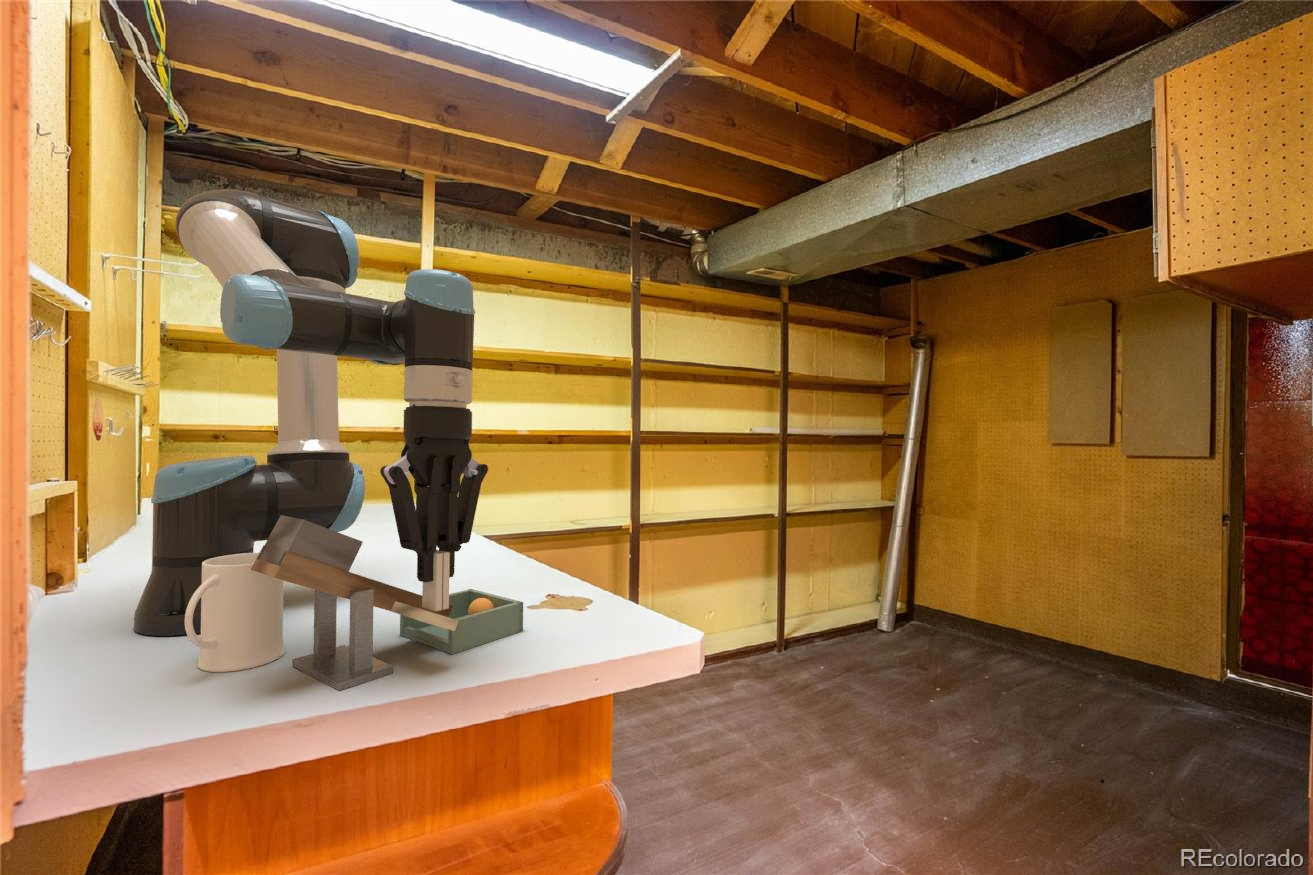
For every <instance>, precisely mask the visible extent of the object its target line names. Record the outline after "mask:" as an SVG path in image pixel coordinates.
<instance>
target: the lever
mask: <svg viewBox="0 0 1313 875" xmlns="http://www.w3.org/2000/svg"><path fill="white" fill-rule="evenodd" d="M363 542H364V541H362V540H360V539H358V538H354V537H352V536H349V535H346V534H344V533H341V532H336V531H333V530H330V529H328V528H325V527H322V526H320V525H317V524H314V523H312V522H309V521H306V520H303V519H298V518H293V517H288V516H283V515H281V516H280V518H279V519H278V521H277V523H276V525H275V527H274V529H273V531H272V532H271V534H270V536H269V538H268V540H266V542H265V544H264V545H263V546H262V548H261V549H260V551H259V552H258V553H259V555H258V557H257V558H256V560H255V562H254V564H253V566H252V568H251V569H250V570H253V571H256V572H259V573H262V574H265V575H268V576H270V577H273V578H277V579H280V580H283V581H284V582H287V583H291V584H294V585H297V586H302V587H305V588H308V589H312V590H314V591H315V590H318V591H322V592H325V593H329V594H332V595H336V596H337V597H340V598H343V599H348V600H350V591H352V590H357V589H362V588H367V587H369V588H372V589H374V602H373V608H374V607H375V608H378V609H381V610H385V611H389V612H392V613H394V614H398V615H400V614H401V615H404V616H407V617H410V618H413V619H416V620H419V621H422V622H425V623H428V624H432V625H435V626H439V627H442V628H446V629H449V630H453V631H455V629H456V626H457V624H458V620H455V619H452V618H449V615H450V613H451V610H452V608H453V605H450V604H449V608H447V609H444V610H443V609H442V610H440V611H433V610H429V609H426V608H423V607H422V595H421V594H418V593H415V592H412V591H409V590H406V589H403V588H400V587H397V586H394V585H391V584H387V583H385V582H383V581H382V582H381V581H378V580H375V579H373V578H369V577H366V576H363V575H360V574H358V573H357V574H356V573H354V572H352V571H350V570H351V567H352V565H353V564H354V561H355V559H356V558H357V555H358V553H359V551H360V549H361V547H362V545H363Z"/></svg>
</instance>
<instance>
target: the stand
mask: <svg viewBox="0 0 1313 875" xmlns="http://www.w3.org/2000/svg"><path fill="white" fill-rule="evenodd" d="M337 598H338V596H336V595H332V594H329V593H325V592H322V591H318V590H315V589H314V598H313V599H314V600H313V602H314V603H313V605H314V606H313V653H310V654H307V655H303V656H300V657H295V658H292V659H291V660H292V663H291V664H292V665H291V666H292V667H293V668H295V669H297V670H299V671H301V672H303V673H304V674H306V675H308V676H310V677H312V678H314V679H316V680H317V681H319V682H321V683H324V684H325V685H328V686H329V687H330V688H333V689H335V690H337V691H338V692H340V691H343V690H346V689H349V688H352V687H355V686H359V685H361V684H365V683H367V682H370V681H372V680H373V681H374V680H376V679H379V678H382V677H384V676H385V677H386V676H388V675H391V674H394V665H392V664H390V663H388V662H385V661H383V660H380V659H378V658H377V657H374V656H373V653H374V649H373V648H374V646H373V645H374V606H373V602H374V589H372V588H369V587H367V588H362V589H357V590H352V591H350V599H349V636H348V637H349V639H348V642H349V643H348V645H349V646H348V645H346V644H343V645H340V646H337V610H338V609H337V603H338V602H337V600H338V599H337Z"/></svg>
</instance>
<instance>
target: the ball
mask: <svg viewBox="0 0 1313 875" xmlns="http://www.w3.org/2000/svg"><path fill="white" fill-rule="evenodd" d="M493 608H494V605H493V604H492V602H491V601H490V600H488V599H486V598H478V599H476V600H474V601H473V602H472V603H471V604H470V606H469V608H468V615H471V614H475V613H479V612H482V611H486V610H489V609H493Z"/></svg>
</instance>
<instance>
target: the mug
mask: <svg viewBox="0 0 1313 875" xmlns="http://www.w3.org/2000/svg"><path fill="white" fill-rule="evenodd" d="M259 553H260V552H253V553H242V554H233V555H226V556H220V557H215V558H211V559H208V560H205V561H203V562H202V584H201V585H200V586H199V588H198V589H197V590H196V591H195V593H194V594H193V596H192V597H191V599H190V601H189V603H188V606H187V609H186V613H185V630H186V633H187V634H186V635H187V638H188V639H189V641H190V642H191V643H192V644H193V645H195V646H196V647H198V648H200V649H199V655H198V656H199V657H198V661H197V668H198V669H199V670H201V671H203V672H204V671H205V672H209V673H228V672H229V673H230V672H237V671H243V670H244V671H245V670H248V669H252V668H253V669H254V668H257V667H261V666H263V665H267V664H269V663H272V662H274V661H276V660H277V659H279V658H281V657H282V656H284V655H285V650H286V649H285V645H284V582H285V581H283V580H280V579H277V578H273V577H270V576H268V575H265V574H262V573H259V572H256V571H253V570H250V569H251V568H252V566H253V564H254V562H255V560H256V558H257V557H258V555H259ZM200 597H201V633H200V637H199V636H198V635H197V633H195V631H194V628H193V613H194V610H195V607H196V604H197V602H198V601H199V599H200Z"/></svg>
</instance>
